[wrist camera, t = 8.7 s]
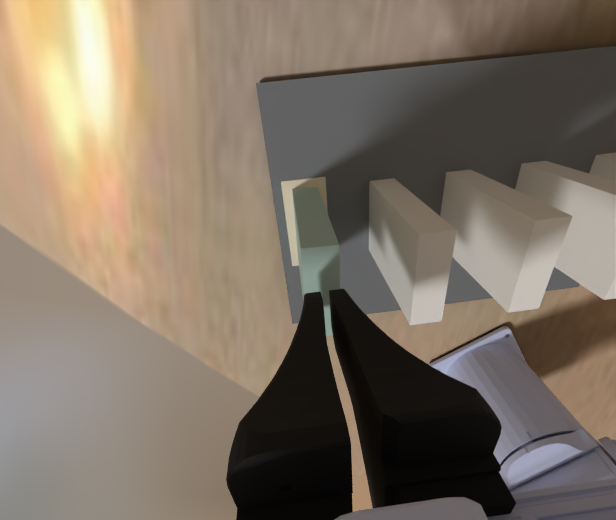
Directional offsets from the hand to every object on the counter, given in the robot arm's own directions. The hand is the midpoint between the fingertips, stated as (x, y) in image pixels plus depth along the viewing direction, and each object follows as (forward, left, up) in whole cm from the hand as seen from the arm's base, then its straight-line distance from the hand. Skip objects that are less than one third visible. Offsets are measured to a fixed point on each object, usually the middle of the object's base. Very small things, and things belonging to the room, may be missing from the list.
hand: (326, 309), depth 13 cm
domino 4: (-8, -13, -9) cm, 17 cm away
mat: (-5, -9, -9) cm, 14 cm away
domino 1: (0, 0, -9) cm, 9 cm away
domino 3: (-5, -9, -9) cm, 13 cm away
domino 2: (-3, -4, -9) cm, 10 cm away
